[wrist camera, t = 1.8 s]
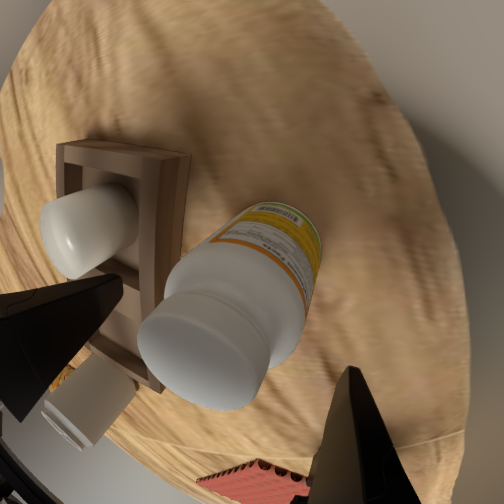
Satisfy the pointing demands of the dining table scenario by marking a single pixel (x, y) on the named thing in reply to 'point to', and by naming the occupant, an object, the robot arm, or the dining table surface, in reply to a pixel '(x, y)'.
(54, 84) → the dining table surface
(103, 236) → the white rounded cylinder
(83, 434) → the can
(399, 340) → the dining table surface
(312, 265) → the supplement bottle
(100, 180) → the caddy
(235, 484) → the red studded mat
